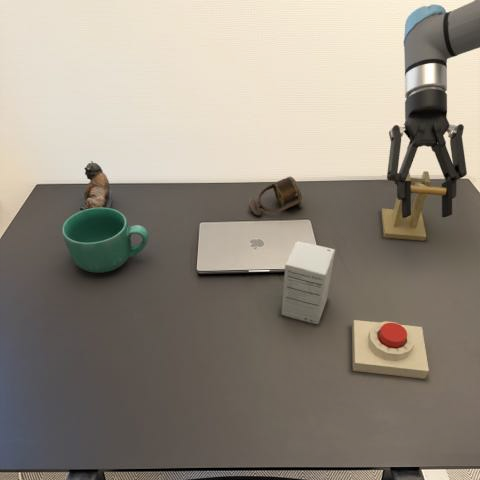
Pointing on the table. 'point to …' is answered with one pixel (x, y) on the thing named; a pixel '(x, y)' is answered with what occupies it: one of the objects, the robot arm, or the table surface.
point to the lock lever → (425, 187)
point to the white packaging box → (307, 281)
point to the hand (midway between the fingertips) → (426, 215)
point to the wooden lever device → (410, 225)
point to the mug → (101, 239)
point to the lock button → (392, 335)
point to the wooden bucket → (279, 196)
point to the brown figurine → (96, 188)
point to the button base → (388, 351)
